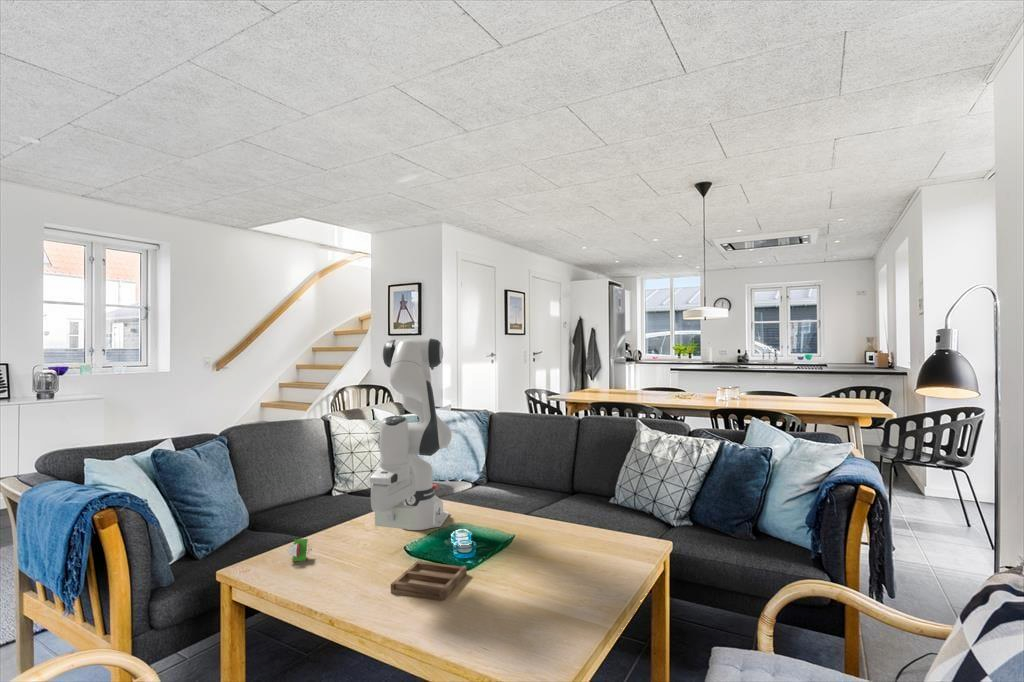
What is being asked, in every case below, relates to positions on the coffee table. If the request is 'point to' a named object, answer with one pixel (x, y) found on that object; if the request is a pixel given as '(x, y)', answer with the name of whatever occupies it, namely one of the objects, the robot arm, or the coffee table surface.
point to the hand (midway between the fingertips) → (395, 518)
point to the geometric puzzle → (299, 550)
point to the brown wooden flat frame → (429, 580)
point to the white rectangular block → (398, 517)
